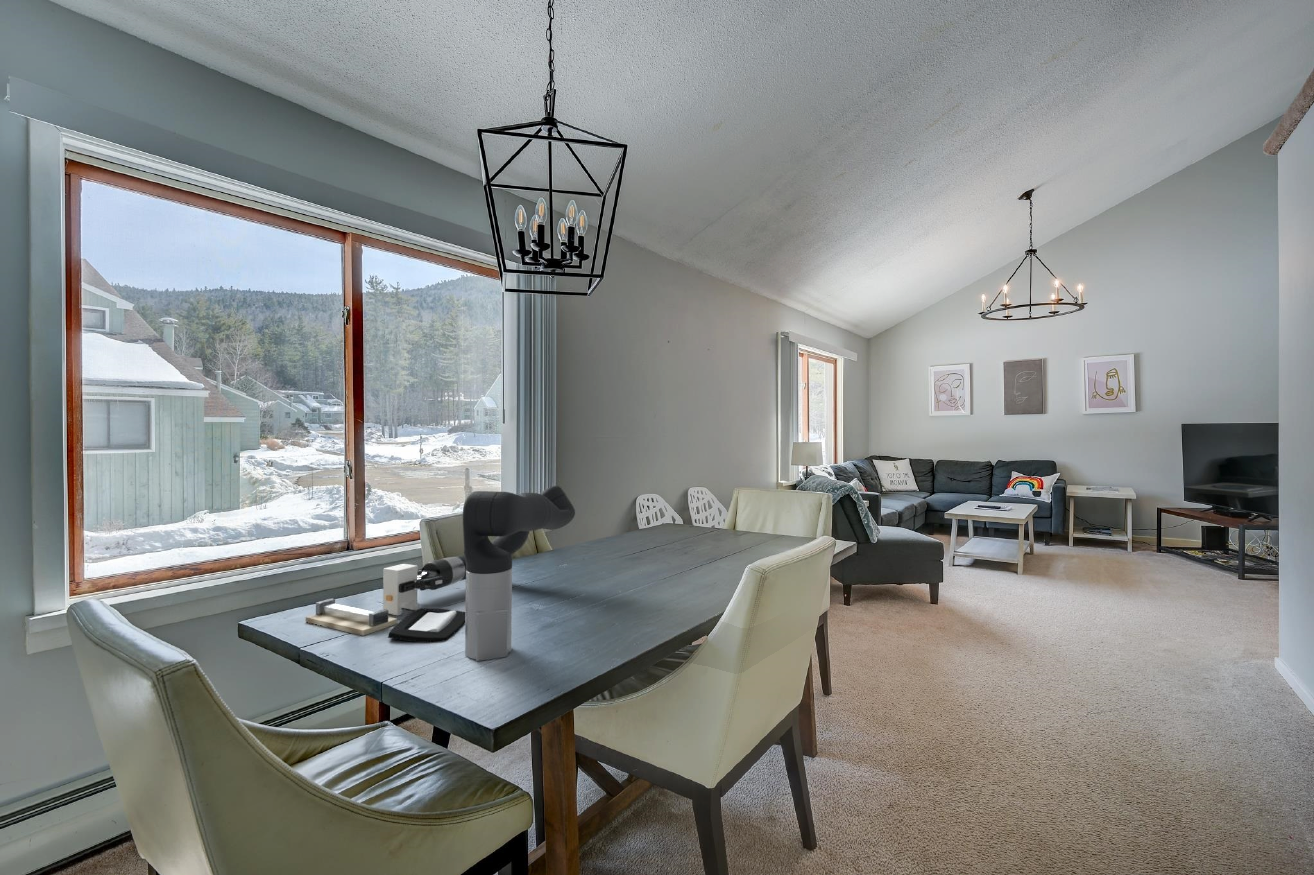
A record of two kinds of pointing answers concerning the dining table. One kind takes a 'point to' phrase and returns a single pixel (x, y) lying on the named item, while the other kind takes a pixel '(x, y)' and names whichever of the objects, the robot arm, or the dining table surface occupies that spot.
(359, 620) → the rail
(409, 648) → the dining table surface
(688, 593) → the dining table surface
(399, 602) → the block
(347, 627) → the mounting board
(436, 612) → the light switch
